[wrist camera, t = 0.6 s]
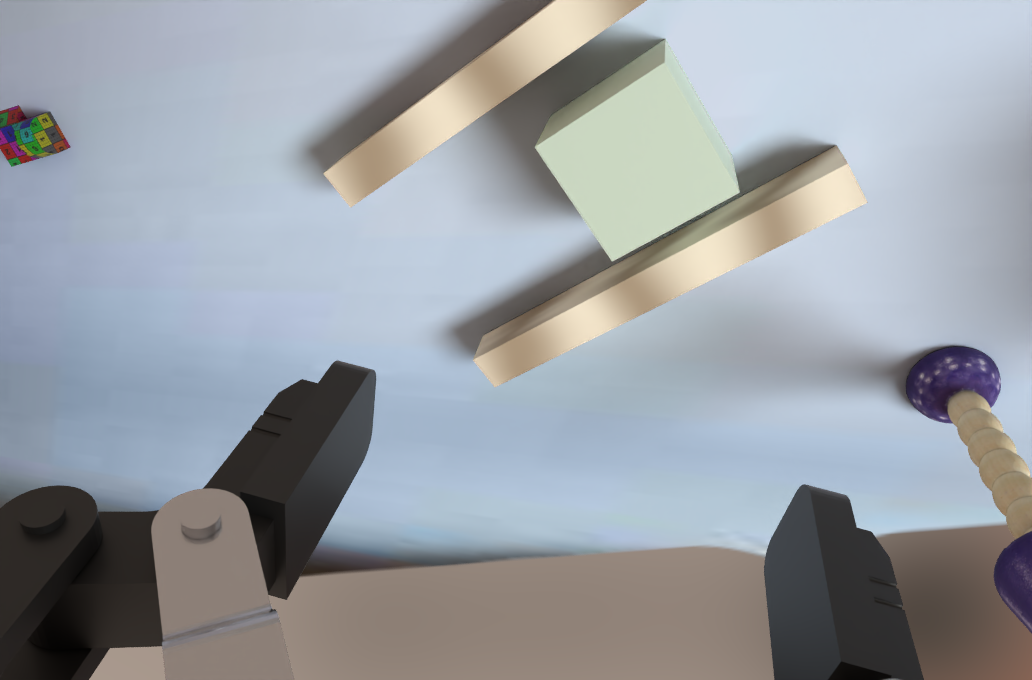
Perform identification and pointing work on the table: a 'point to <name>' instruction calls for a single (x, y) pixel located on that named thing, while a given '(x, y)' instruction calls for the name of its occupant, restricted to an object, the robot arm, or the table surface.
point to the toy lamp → (983, 454)
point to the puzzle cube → (29, 136)
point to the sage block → (638, 153)
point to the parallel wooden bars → (637, 279)
